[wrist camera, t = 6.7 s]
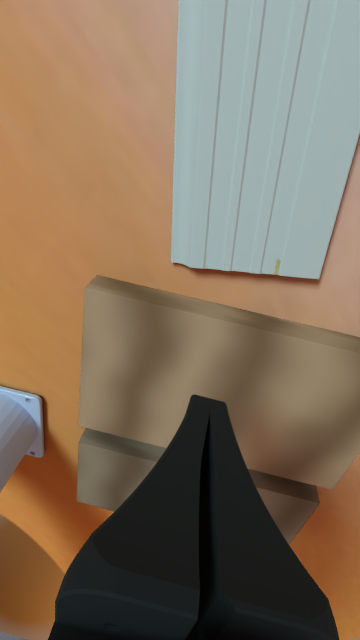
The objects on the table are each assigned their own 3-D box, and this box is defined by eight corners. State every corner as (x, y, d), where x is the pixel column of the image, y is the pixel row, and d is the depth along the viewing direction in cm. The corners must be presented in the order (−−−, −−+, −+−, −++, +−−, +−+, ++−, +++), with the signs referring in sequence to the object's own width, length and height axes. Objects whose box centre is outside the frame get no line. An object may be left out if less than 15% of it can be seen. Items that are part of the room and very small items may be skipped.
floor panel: (84, 482, 33) (76, 501, 31) (89, 410, 27) (79, 429, 26) (279, 532, 32) (281, 554, 30) (322, 469, 27) (328, 492, 25)
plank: (88, 407, 27) (78, 425, 25) (97, 275, 21) (84, 287, 19) (325, 467, 26) (332, 489, 25) (404, 348, 20) (420, 367, 19)
